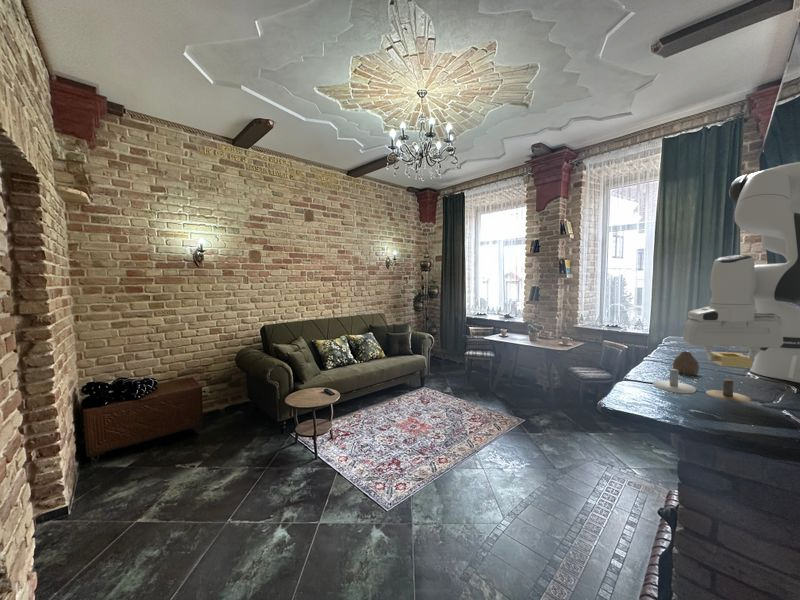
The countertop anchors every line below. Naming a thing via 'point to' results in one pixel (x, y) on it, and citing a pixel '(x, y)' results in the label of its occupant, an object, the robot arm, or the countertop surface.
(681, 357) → the vase
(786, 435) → the countertop surface
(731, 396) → the oak stand
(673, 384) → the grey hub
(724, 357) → the yellow square frame
